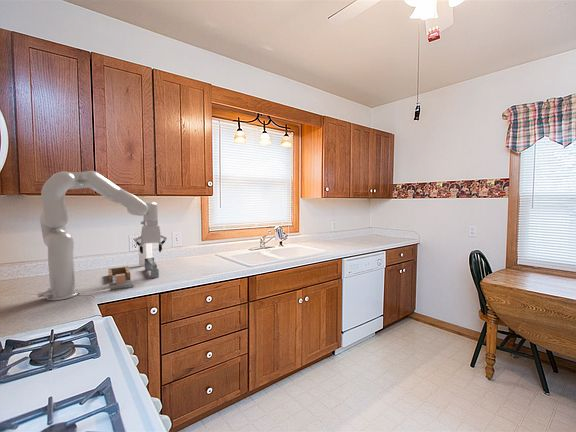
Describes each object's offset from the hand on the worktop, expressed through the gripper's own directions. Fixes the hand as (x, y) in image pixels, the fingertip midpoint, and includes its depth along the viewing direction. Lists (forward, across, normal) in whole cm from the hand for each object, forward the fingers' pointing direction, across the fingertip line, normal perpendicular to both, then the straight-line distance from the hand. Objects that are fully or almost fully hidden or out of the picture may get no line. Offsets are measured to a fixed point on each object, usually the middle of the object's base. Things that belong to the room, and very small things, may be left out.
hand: (151, 252), depth 168 cm
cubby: (+15, -16, 0) cm, 22 cm away
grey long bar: (+15, +1, +5) cm, 16 cm away
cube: (+14, -16, -6) cm, 22 cm away
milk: (+15, +1, +31) cm, 34 cm away
